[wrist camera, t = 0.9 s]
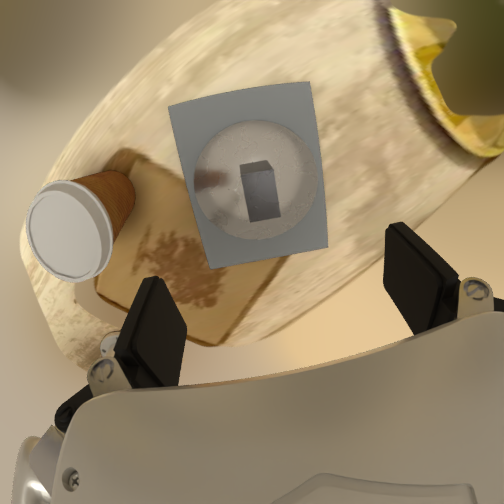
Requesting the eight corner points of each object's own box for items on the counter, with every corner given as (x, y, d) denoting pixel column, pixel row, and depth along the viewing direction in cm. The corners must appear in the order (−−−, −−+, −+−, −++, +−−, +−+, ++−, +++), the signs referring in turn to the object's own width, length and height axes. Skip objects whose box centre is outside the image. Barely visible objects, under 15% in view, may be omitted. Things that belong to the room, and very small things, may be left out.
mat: (326, 245, 34) (328, 247, 33) (210, 266, 34) (210, 269, 34) (308, 82, 24) (309, 81, 24) (169, 106, 25) (167, 106, 24)
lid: (318, 223, 32) (336, 248, 26) (211, 243, 32) (206, 273, 26) (305, 112, 25) (325, 112, 20) (183, 134, 26) (169, 139, 20)
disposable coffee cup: (69, 201, 28) (13, 244, 18) (105, 141, 26) (43, 161, 15) (122, 245, 32) (82, 304, 21) (164, 190, 29) (127, 234, 19)
